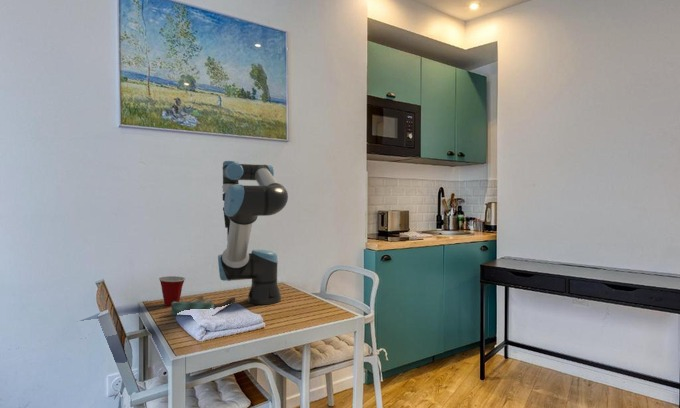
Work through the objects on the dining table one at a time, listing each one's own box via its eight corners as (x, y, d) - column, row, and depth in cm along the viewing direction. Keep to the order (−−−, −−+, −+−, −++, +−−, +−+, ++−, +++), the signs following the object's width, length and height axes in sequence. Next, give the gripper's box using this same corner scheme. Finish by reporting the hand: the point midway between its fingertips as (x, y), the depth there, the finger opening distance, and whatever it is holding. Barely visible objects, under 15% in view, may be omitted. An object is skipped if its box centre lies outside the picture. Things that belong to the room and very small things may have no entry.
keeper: (211, 310, 168) (211, 299, 168) (203, 314, 161) (203, 303, 161) (196, 309, 169) (196, 298, 169) (187, 314, 162) (187, 303, 162)
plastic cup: (184, 306, 172) (184, 279, 172) (157, 308, 169) (157, 280, 169) (186, 300, 182) (186, 274, 182) (160, 302, 179) (160, 275, 179)
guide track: (235, 301, 181) (235, 290, 181) (211, 317, 157) (211, 304, 157) (200, 300, 183) (200, 289, 183) (171, 315, 160) (171, 302, 160)
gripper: (228, 193, 200) (228, 239, 201) (217, 192, 187) (217, 242, 188) (243, 193, 199) (242, 239, 200) (232, 192, 186) (232, 242, 187)
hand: (230, 241), depth 194 cm, fingers closed
